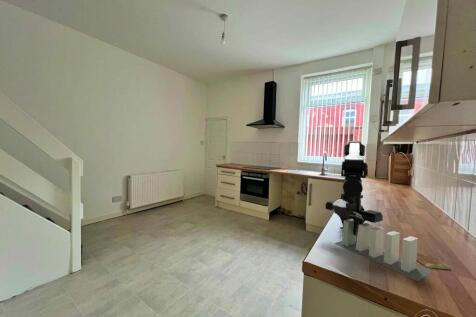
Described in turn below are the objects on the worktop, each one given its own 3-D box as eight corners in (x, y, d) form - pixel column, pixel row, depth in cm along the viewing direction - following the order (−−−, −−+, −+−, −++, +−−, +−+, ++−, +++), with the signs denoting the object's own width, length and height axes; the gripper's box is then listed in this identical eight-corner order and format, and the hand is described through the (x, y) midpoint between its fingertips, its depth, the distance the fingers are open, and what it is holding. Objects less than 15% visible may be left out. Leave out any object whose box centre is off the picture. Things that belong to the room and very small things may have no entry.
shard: (401, 252, 72) (401, 247, 72) (425, 255, 71) (425, 249, 71) (425, 270, 61) (425, 264, 61) (454, 273, 60) (454, 267, 60)
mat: (350, 239, 81) (350, 238, 81) (433, 272, 59) (433, 271, 59) (334, 244, 76) (334, 243, 76) (418, 282, 54) (418, 281, 54)
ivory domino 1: (363, 246, 74) (367, 222, 73) (368, 248, 72) (372, 224, 71) (355, 248, 71) (359, 224, 70) (360, 251, 70) (364, 226, 69)
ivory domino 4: (408, 265, 62) (410, 236, 62) (416, 268, 60) (417, 238, 60) (400, 269, 60) (402, 239, 59) (408, 272, 58) (410, 241, 58)
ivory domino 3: (391, 258, 66) (393, 230, 66) (398, 260, 64) (399, 232, 64) (383, 261, 63) (385, 233, 63) (390, 264, 62) (392, 235, 62)
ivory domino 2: (376, 252, 70) (378, 226, 70) (382, 254, 68) (384, 228, 68) (368, 255, 67) (370, 228, 67) (374, 257, 66) (376, 230, 66)
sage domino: (350, 241, 77) (351, 218, 77) (355, 243, 76) (356, 220, 76) (342, 244, 75) (343, 220, 75) (347, 246, 73) (348, 221, 73)
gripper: (316, 188, 79) (315, 228, 80) (366, 199, 63) (363, 248, 63) (334, 187, 85) (333, 224, 85) (384, 196, 68) (382, 241, 69)
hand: (350, 233), depth 76 cm, fingers open, 3 cm apart
